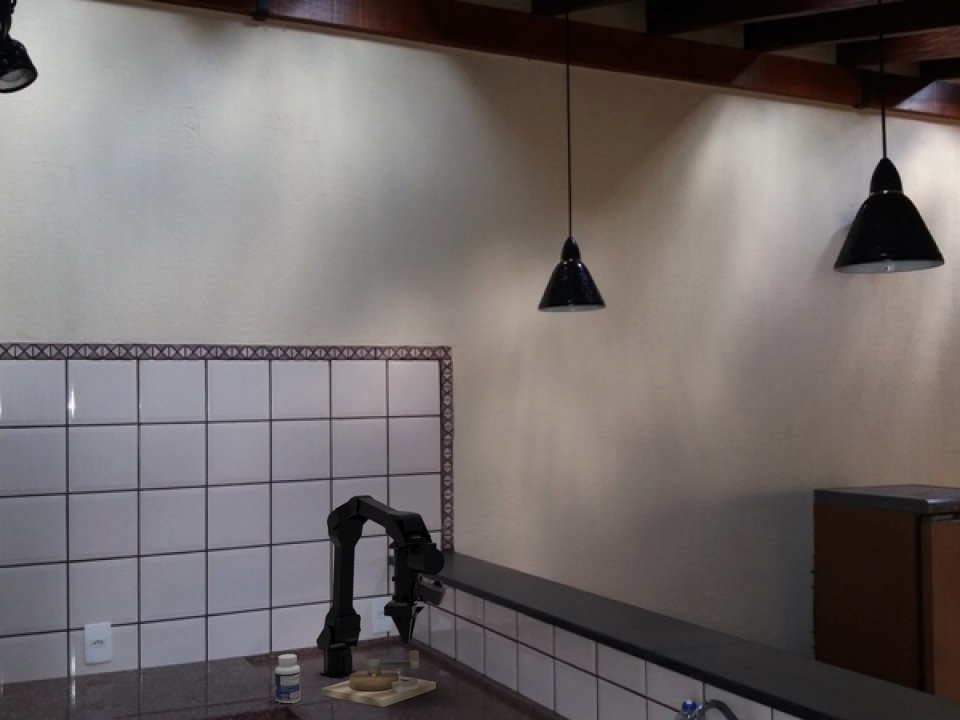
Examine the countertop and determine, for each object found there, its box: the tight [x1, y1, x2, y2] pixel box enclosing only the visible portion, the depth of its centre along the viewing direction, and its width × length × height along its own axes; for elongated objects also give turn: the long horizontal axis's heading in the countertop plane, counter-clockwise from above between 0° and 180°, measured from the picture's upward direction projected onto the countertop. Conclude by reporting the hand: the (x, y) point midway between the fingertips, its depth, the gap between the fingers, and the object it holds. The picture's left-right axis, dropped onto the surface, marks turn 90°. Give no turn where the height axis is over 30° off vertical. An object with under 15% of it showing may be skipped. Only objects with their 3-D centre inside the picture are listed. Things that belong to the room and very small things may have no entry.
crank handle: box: [349, 650, 420, 690], centre depth 238 cm, size 11×16×7 cm
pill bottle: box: [274, 653, 301, 704], centre depth 232 cm, size 5×5×10 cm
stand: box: [321, 675, 437, 708], centre depth 238 cm, size 18×18×4 cm
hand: (407, 642), depth 233 cm, fingers open, 3 cm apart
